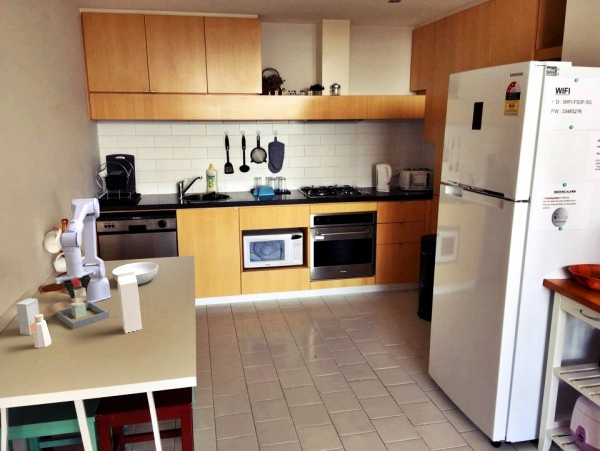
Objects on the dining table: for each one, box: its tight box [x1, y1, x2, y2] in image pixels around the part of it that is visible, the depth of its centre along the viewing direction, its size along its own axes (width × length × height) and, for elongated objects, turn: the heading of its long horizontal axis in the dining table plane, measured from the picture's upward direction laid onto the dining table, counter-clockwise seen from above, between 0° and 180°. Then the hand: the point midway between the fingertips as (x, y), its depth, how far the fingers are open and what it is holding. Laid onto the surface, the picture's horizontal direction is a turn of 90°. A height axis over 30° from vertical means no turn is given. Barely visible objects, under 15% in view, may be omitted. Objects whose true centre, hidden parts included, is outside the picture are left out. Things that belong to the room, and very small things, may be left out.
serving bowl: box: [111, 261, 159, 286], centre depth 227 cm, size 21×21×7 cm
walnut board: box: [39, 300, 71, 321], centre depth 193 cm, size 14×12×1 cm
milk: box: [116, 271, 143, 334], centre depth 173 cm, size 6×6×22 cm
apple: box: [64, 278, 81, 294], centre depth 217 cm, size 8×8×6 cm
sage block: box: [69, 301, 87, 319], centre depth 189 cm, size 4×4×5 cm
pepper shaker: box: [33, 314, 52, 349], centre depth 164 cm, size 5×5×11 cm
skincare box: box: [15, 297, 40, 336], centre depth 175 cm, size 6×4×12 cm
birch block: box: [70, 285, 87, 303], centre depth 184 cm, size 4×4×5 cm
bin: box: [56, 301, 110, 330], centre depth 187 cm, size 14×17×2 cm
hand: (78, 296), depth 184 cm, fingers closed on birch block, 4 cm apart
